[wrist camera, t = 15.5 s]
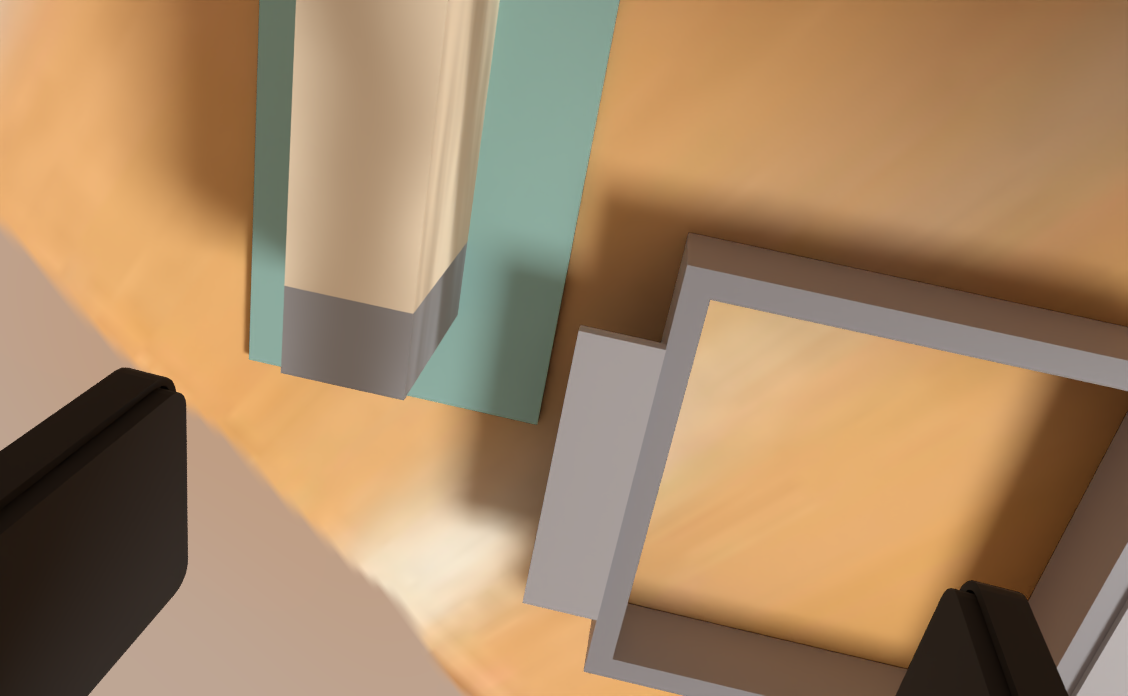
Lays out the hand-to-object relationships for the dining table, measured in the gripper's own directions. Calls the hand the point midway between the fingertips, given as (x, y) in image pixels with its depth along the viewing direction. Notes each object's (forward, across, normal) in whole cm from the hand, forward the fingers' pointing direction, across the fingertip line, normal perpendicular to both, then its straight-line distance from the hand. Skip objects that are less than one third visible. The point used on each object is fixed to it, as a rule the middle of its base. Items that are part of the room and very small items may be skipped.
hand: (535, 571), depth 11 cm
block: (+22, +8, +2) cm, 24 cm away
